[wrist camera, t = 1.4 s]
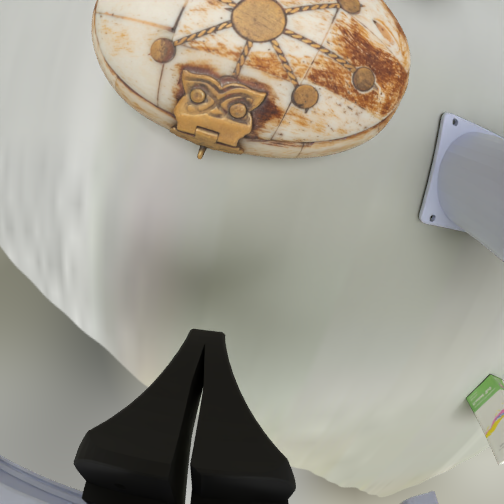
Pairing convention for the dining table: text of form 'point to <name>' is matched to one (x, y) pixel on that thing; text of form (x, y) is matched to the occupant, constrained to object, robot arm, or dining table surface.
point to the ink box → (490, 413)
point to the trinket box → (257, 70)
